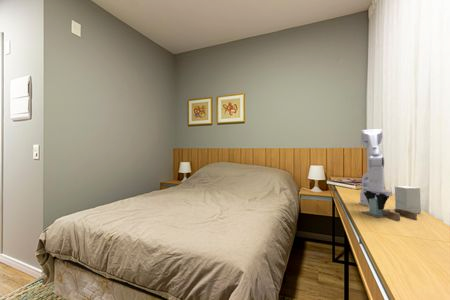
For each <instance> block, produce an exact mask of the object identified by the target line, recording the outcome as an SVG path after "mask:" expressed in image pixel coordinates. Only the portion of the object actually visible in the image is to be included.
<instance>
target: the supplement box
mask: <svg viewBox="0 0 450 300" xmlns="http://www.w3.org/2000/svg"><path fill="white" fill-rule="evenodd" d="M394 201H395V205H394V207H395V208H394V210H395V209H404V210H407V211H411V212H415V213H417V214H421V212H422V207H421V206H422V205H421V187H414V186H410V185H395V186H394Z"/></svg>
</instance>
